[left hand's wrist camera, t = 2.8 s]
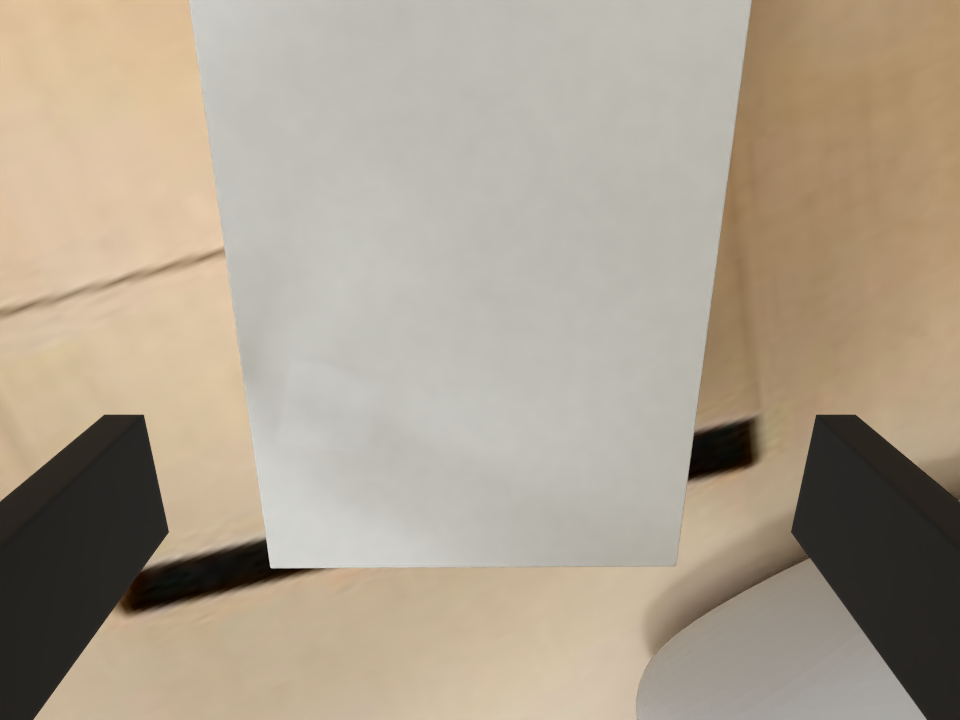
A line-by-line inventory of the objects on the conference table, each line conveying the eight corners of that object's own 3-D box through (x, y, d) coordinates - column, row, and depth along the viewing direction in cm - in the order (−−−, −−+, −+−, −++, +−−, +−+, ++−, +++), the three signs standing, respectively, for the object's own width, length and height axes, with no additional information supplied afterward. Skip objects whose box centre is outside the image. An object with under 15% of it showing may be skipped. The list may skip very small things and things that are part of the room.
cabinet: (307, -56, 22) (158, -201, 12) (636, -55, 22) (779, -199, 12) (345, 399, 28) (269, 569, 18) (602, 398, 28) (676, 567, 18)
